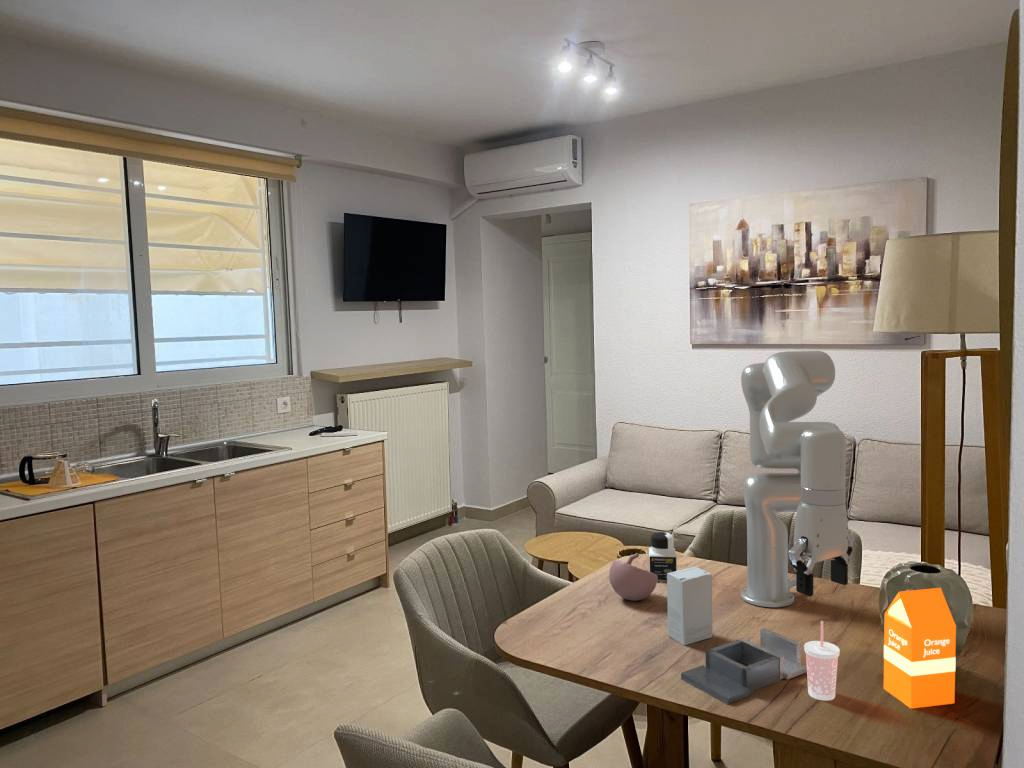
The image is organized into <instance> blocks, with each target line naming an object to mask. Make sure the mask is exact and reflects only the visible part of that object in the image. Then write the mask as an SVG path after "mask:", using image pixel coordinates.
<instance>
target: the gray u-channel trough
mask: <svg viewBox="0 0 1024 768" xmlns="http://www.w3.org/2000/svg"><path fill="white" fill-rule="evenodd" d="M759 636H760V645H759V644H757V643H754V642H752V641H749V640H748V639H746V638H744V637H743V638H742V637H741V638H739V639H737V640H739V641H741V642H742V663H744V664H746V665H747V666H749V665H752V664H754V663H757V662H760V661H763V660H765V659H768V658H771V657H773V656H774V657H776V658H779V681H780V680H782V679H785V680H787V681H788V680H790V679H792V678H795V677H797V676H800V675H803V674H807V665H803V664H802V660H801V659H802V651H801V650H802V647H801V646H802V643H801V642H800V641H796V640H794V639H791V638H789V637H786V636H785V635H782V634H780V633H778V632H775V631H772V630H770V629H768V628H765V627H764V628H761V629H760V635H759Z"/></svg>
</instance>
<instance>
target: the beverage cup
mask: <svg viewBox="0 0 1024 768" xmlns="http://www.w3.org/2000/svg"><path fill="white" fill-rule="evenodd" d="M803 647H804V648H803V650H804V653H805V660H806V661H805V662H806V667H807V672H806V675H807V691H808V692H807V693H808V695H809V696H810V697H811V698H813V699H815V700H817V701H818V700H819V701H823V702H824V701H826V702H827V701H832V700H834V699H835V698H836V691H837V690H836V689H837V677H838V674H837V673H838V665H839V664H838V662H839V661H838V660H839V656H840V651H841V649H840V648H839V646H837V645H836V644H834V643H831V642H828V641H824V620H820V640H811V641H807V642H805V643H804V644H803Z"/></svg>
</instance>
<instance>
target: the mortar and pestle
mask: <svg viewBox="0 0 1024 768" xmlns="http://www.w3.org/2000/svg"><path fill="white" fill-rule="evenodd" d="M639 556H640V554H639V552H638V553H637V552H635V554H630V555H629V557H628V559H627V560H626V562H623V561H621V560H616V559H614V560H613V561H612V563H611V565H610V568H609V572H608V573H609V578H608V579H609V583H610V585H611V587H612V589H613V591H614V592H616V594H617V595H619V596H620V597H621V598H623V599H625V600H628V601H632V602H633V601H635V602H637V601H641V600H644V599H646V598H648V597H649V596H650V595H651V594H652V593H653V592H654V590H655V589H656V586H657V585H658V581H657V580H658V576H657V575H656V574H654V573H652V572H650V571H649V570H645V569H642V568H640V567H637V566H636V565H632V563H633V562H634V560H635V559H638V558H639Z"/></svg>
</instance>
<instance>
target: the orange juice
mask: <svg viewBox="0 0 1024 768" xmlns="http://www.w3.org/2000/svg"><path fill="white" fill-rule="evenodd" d="M883 621H884V628H883V629H884V632H883V633H884V634H883V636H884V638H883V639H884V640H883V641H884V642H883V690H885V691H886V692H887V693H889V694H890V695H892V696H893V697H894V698H896V699H897V700H899V701H900V702H902V703H903V704H904V705H905V706H906V707H908V708H909V709H918V708H926V707H934V706H942V705H952V704H955V698H956V697H955V690H956V687H955V685H956V662H957V661H956V660H957V659H956V658H957V657H956V649H957V648H956V645H957V643H956V639H957V638H956V635H957V624H956V623H955V620H954V618H953V616H952V613H951V610H950V607H949V605H948V603H947V600H946V598H945V595H944V592H943V590H942V587H933V588H924V589H923V588H922V589H916V590H914V589H913V590H903V591H898V593H897V594H896V595H895V597H894V598H893V600H892V601H891V603H890V604H889V606H888V608H887V609H886V611H885V612H884V620H883Z"/></svg>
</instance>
